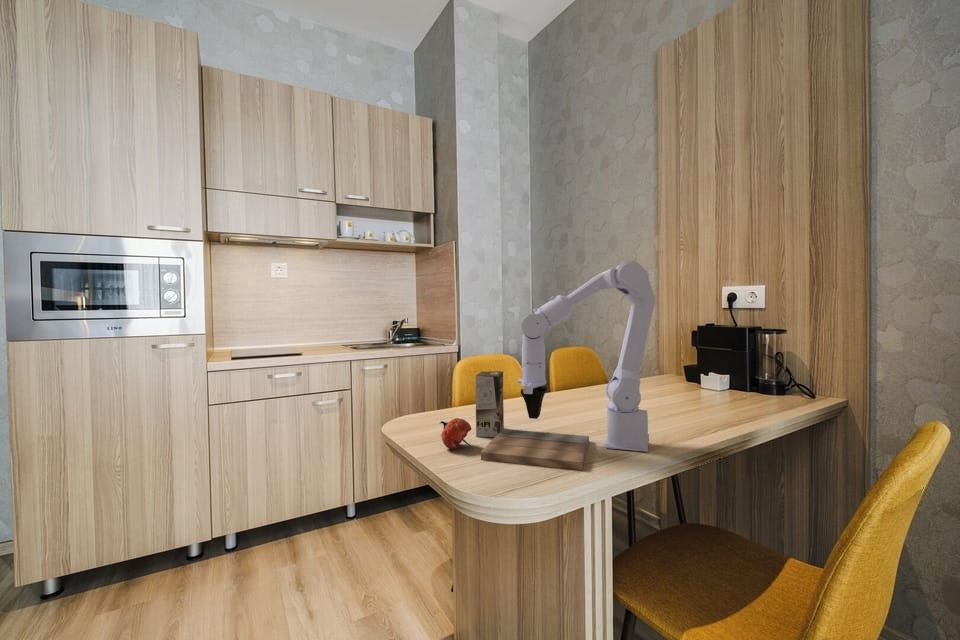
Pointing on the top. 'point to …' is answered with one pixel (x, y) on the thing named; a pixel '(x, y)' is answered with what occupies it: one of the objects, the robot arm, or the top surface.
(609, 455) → the top surface
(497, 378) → the coffee box
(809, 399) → the top surface
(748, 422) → the top surface
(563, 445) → the laid planks
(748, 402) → the top surface
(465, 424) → the red rounded piece
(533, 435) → the charcoal plank
